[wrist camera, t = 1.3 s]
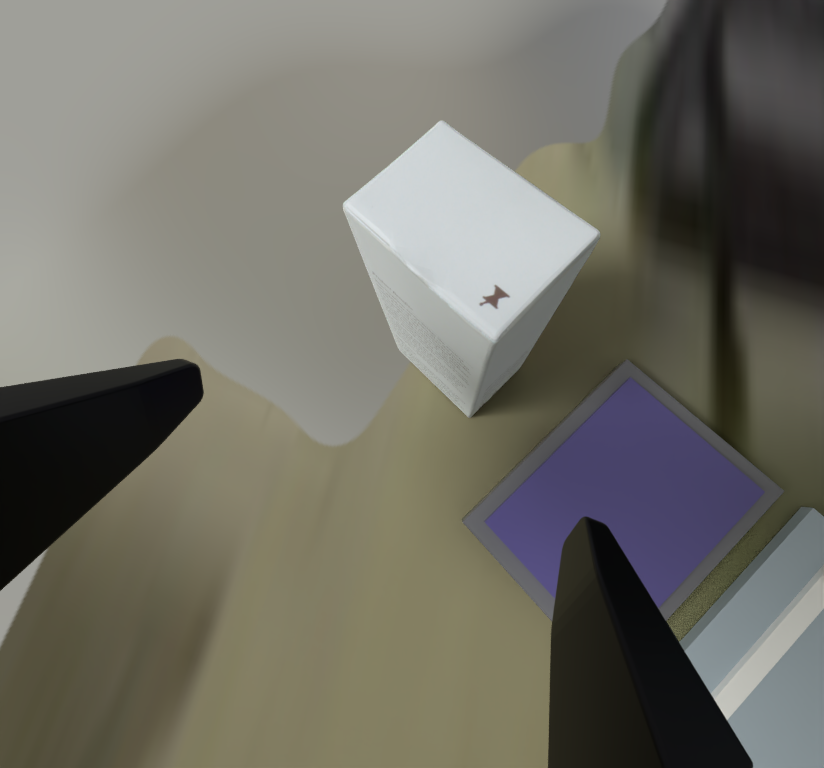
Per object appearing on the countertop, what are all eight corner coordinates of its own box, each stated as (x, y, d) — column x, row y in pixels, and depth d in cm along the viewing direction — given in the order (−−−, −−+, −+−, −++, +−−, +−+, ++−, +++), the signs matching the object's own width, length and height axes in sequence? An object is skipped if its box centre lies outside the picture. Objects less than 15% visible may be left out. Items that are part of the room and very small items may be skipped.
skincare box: (522, 367, 21) (613, 234, 9) (469, 420, 20) (494, 350, 9) (445, 299, 22) (442, 110, 11) (394, 347, 22) (332, 205, 10)
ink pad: (599, 672, 17) (611, 688, 16) (461, 519, 19) (462, 522, 18) (766, 490, 18) (790, 491, 17) (618, 364, 20) (629, 357, 19)
